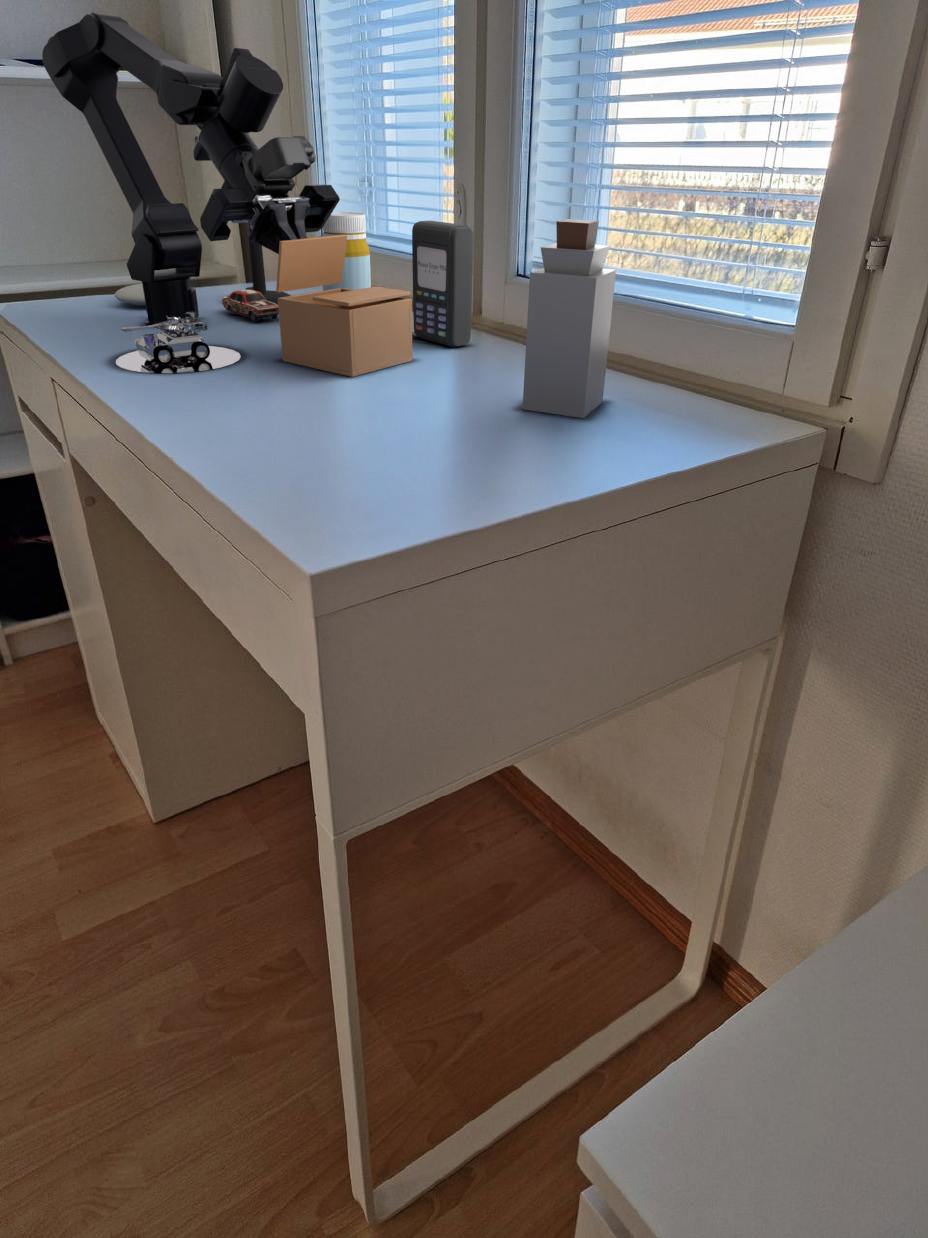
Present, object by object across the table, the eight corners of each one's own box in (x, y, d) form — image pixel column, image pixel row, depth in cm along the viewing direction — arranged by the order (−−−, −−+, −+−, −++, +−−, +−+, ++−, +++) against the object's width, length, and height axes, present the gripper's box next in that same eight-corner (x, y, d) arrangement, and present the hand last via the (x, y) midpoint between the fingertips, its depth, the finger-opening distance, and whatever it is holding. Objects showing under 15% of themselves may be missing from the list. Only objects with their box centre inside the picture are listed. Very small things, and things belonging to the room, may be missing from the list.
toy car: (100, 353, 106) (91, 309, 103) (213, 340, 114) (207, 298, 111) (139, 379, 96) (130, 330, 93) (260, 362, 104) (255, 317, 101)
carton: (282, 361, 105) (276, 290, 101) (344, 346, 112) (341, 280, 108) (352, 377, 99) (348, 302, 94) (412, 360, 106) (411, 291, 102)
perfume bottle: (602, 402, 91) (621, 220, 82) (583, 418, 86) (601, 225, 77) (544, 394, 94) (556, 216, 85) (522, 409, 88) (532, 221, 79)
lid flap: (278, 292, 101) (276, 291, 101) (342, 282, 108) (339, 281, 108) (281, 241, 97) (279, 240, 97) (347, 235, 105) (345, 234, 105)
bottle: (376, 320, 128) (372, 212, 121) (367, 329, 122) (362, 216, 115) (331, 319, 129) (325, 211, 121) (320, 328, 123) (312, 215, 115)
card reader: (409, 337, 118) (407, 220, 111) (431, 334, 120) (430, 219, 113) (450, 349, 112) (451, 226, 105) (473, 345, 115) (475, 225, 107)
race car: (254, 319, 135) (248, 288, 133) (284, 319, 126) (278, 286, 124) (225, 322, 133) (219, 291, 131) (253, 322, 123) (247, 289, 122)
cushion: (207, 300, 141) (205, 281, 139) (165, 312, 131) (161, 292, 129) (146, 295, 144) (143, 276, 142) (100, 307, 134) (96, 287, 132)
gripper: (201, 105, 91) (279, 224, 91) (324, 111, 104) (393, 214, 104) (168, 184, 99) (240, 292, 99) (286, 180, 112) (350, 276, 112)
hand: (309, 267), depth 103 cm, fingers closed, pressing on lid flap
